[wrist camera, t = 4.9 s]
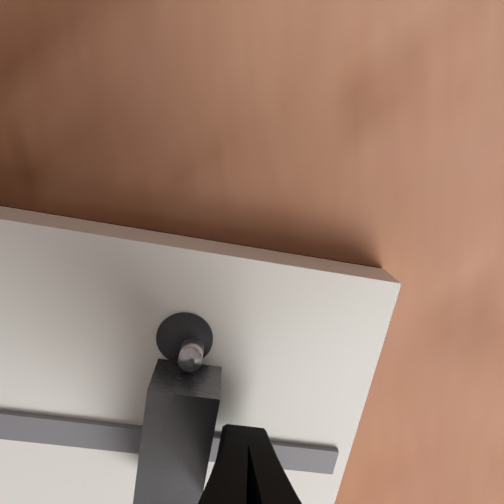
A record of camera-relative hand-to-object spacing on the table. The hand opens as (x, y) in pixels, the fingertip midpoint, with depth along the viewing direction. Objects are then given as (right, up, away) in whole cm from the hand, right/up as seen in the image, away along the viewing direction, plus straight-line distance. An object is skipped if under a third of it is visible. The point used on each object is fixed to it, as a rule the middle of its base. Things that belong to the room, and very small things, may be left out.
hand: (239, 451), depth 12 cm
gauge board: (-5, +2, +2) cm, 6 cm away
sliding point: (-2, +1, 0) cm, 2 cm away
